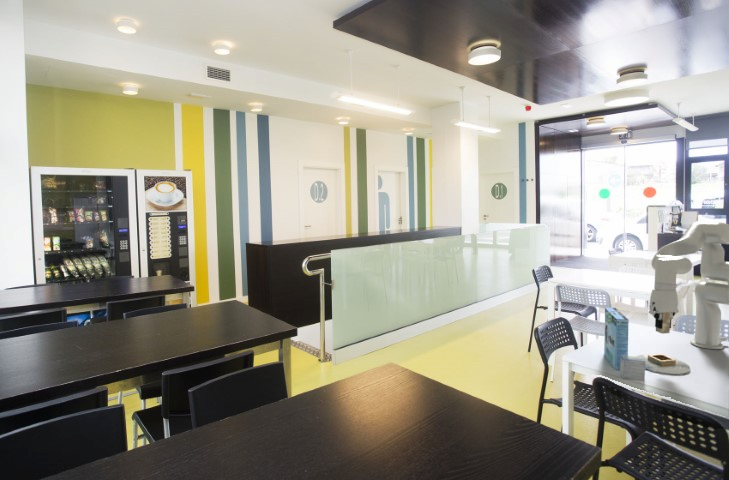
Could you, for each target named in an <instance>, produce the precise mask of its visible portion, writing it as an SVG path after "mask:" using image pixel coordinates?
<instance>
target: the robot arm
mask: <svg viewBox="0 0 729 480" xmlns="http://www.w3.org/2000/svg"><path fill="white" fill-rule="evenodd" d="M722 245H729V224H728V223H725V222H717V221H716V222H715V221H696V222H693V223H691V224H690V225H689V227H688V228H687V229H686V230H685V231H684V233H683V234H682V236H681V237H680V238H679V239H678V240H675V241H672V242H670V243H668V244H666V245H664V246H662V247H660V248H659V249H658V250H657V252H656V253H655V254H654V255H653V257H652V260H651V267H652V269H653V270H654V288H653V289H652V291H651V294H650V298H649V311H648V313H649V314H650V315H652V317H653V318H654V320H655V323H654V325H655V326H654V328H656V327H657V328H659V329H662V323H663V320H661V319H662V314H663V313H668V312H671V316H670V329H672V320H673V319H674V316H675V315H676V314H678V313H679V308H678V307H679V306H678V304H679V302H678V301H679V299H678V291H677V289H676V288H677V286H678V284H677V275H685V274H688V273H689V272H690V271H691V270H692V267H693V264H692V261H691V259H690V258H687V257H684V256H687V255H692V254H696V253H697V252H699V251H700V250H701V257H700V258H701V259H700V276H701V277H702V278H703V279H705V280H711V281H701V282H698V283H697V284H696V285H695V287H694V296H695V305H696V306H695V307H696V308H695V309H696V310H695V323H694V324H695V325H694V327H695V329H694V338H691V339H690V344H691V345H694V346H695V347H699V348H702V349H707V350H722V349H724V344H723V343H722V342H727V341H728V337H727V336H723V337H722V336H721V324H722V323H721V321H722V320H721V319H722V310H721V307H719V305H718V304H721V305H725V306H729V261H725V253H726V251H725V248H724V247H723V246H722ZM713 281H719V282H726V283H727V284H724V283H719V282H713ZM658 314H659V316H658Z"/></svg>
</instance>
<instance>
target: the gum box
mask: <svg viewBox="0 0 729 480" xmlns="http://www.w3.org/2000/svg"><path fill="white" fill-rule="evenodd" d="M629 320H630V319H629V318H627V317H626V316H625V315H624V314H623V313H621V311H619V310H618V309H617V308H616V307H604V342H603V343H604V352H603V354H604V356H605V358H606V359H607V360H608V362H609V363H610V364H611V366H612V367H613V370H615V371H620V363H621V356H629V355H628V354H629V324H630V323H629Z"/></svg>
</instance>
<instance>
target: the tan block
mask: <svg viewBox="0 0 729 480" xmlns="http://www.w3.org/2000/svg"><path fill="white" fill-rule="evenodd" d="M658 316H659V314H658ZM670 316H671V312H668V313H663V314H662V319H661V320H663V323H662V329H659V328H657V327H655V332H657V333H659V334H663V335H664V334H671V333H670V332H671V331H670V330H671V328H670Z"/></svg>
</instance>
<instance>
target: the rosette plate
mask: <svg viewBox="0 0 729 480" xmlns="http://www.w3.org/2000/svg"><path fill="white" fill-rule="evenodd" d="M635 357H642V358H643V359H644V360H645V370H647V369H648V370H647V371H650V372H653V371H654V373H657V372H658V374H662V373H663V375H670V376H681V375H686V374H689V373H690V372H691V367H690V365H689V364H687V363H686V362H684V361H682V360H679V359H676V358H673V357H671V356H668V355H665V354H663V353H660V354H657V353H656V354H639V355H636V356H635Z"/></svg>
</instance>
